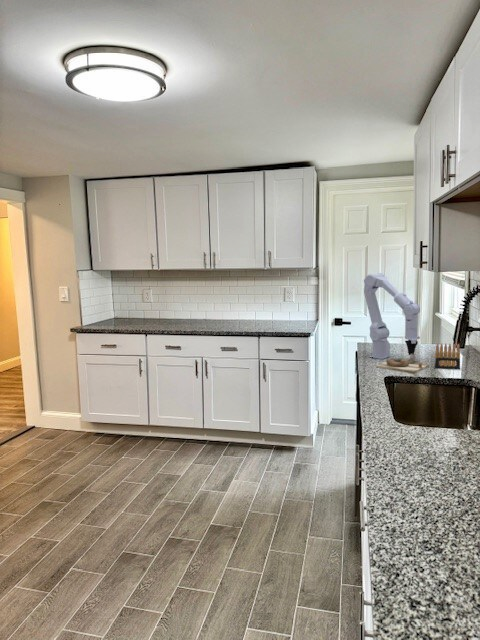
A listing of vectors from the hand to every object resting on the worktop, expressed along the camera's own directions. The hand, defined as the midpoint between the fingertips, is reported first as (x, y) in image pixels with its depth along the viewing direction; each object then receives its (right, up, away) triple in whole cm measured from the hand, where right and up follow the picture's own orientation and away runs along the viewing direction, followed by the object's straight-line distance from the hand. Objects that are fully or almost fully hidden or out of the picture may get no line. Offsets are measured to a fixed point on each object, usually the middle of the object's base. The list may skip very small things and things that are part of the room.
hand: (411, 355), depth 221 cm
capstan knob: (-7, -4, -7) cm, 11 cm away
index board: (-7, -5, -8) cm, 12 cm away
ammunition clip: (+12, -5, -13) cm, 19 cm away
